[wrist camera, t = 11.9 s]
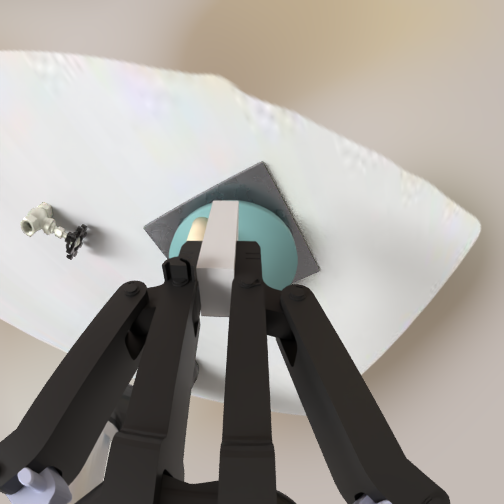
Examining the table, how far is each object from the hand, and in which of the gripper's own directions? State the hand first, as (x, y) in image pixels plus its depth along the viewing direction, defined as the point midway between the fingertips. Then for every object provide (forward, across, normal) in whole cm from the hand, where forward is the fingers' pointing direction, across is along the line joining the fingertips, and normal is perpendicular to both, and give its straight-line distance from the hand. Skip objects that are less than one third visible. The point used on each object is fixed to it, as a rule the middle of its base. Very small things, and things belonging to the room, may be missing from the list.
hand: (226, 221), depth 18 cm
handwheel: (+23, +1, +19) cm, 30 cm away
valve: (+27, +33, +13) cm, 45 cm away
